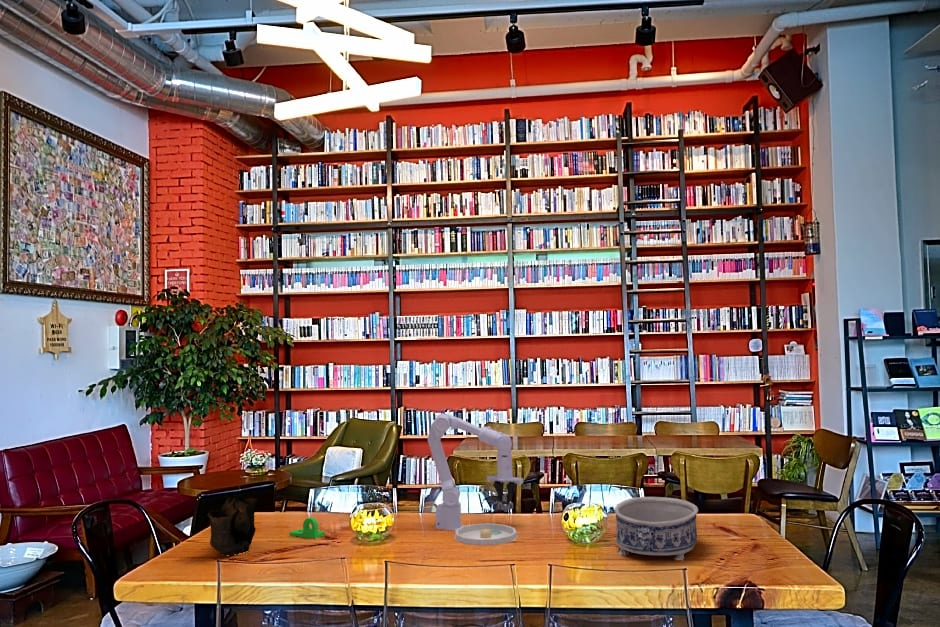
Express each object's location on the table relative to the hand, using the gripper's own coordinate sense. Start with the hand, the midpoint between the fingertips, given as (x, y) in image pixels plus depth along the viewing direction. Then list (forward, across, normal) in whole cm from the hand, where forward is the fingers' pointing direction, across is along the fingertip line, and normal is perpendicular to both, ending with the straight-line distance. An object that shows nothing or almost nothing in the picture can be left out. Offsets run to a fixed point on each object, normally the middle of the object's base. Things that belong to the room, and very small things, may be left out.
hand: (505, 501), depth 281 cm
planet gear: (+3, 0, 0) cm, 3 cm away
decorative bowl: (+10, +60, -9) cm, 62 cm away
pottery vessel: (+10, -72, -69) cm, 101 cm away
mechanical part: (+10, -63, -41) cm, 76 cm away
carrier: (+10, 0, -18) cm, 20 cm away
